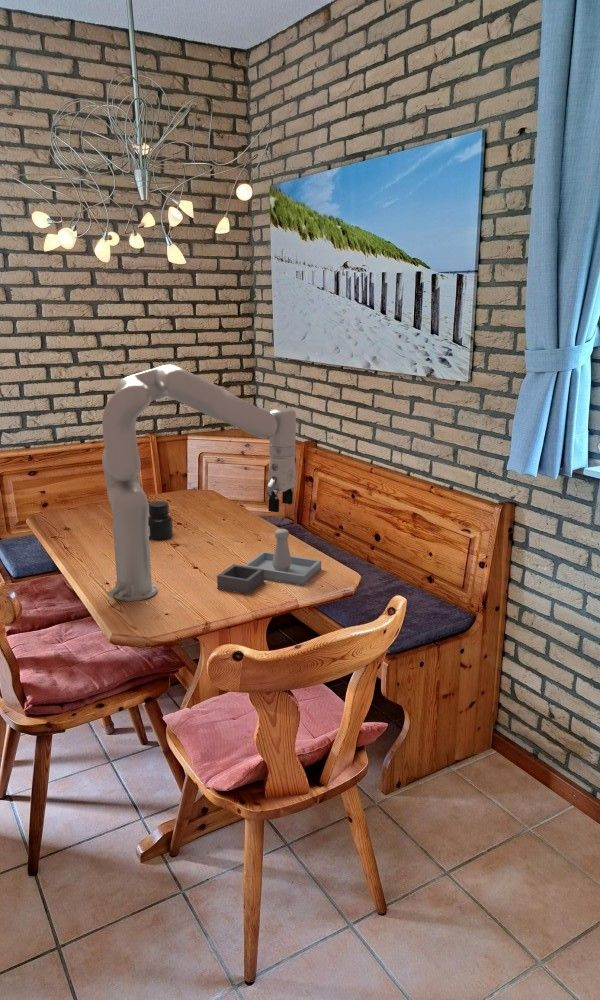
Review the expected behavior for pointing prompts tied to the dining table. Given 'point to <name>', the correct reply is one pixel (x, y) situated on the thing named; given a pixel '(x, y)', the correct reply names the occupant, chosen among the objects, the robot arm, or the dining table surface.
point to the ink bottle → (159, 521)
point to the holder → (240, 579)
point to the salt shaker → (281, 551)
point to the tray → (296, 574)
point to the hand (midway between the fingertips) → (280, 507)
